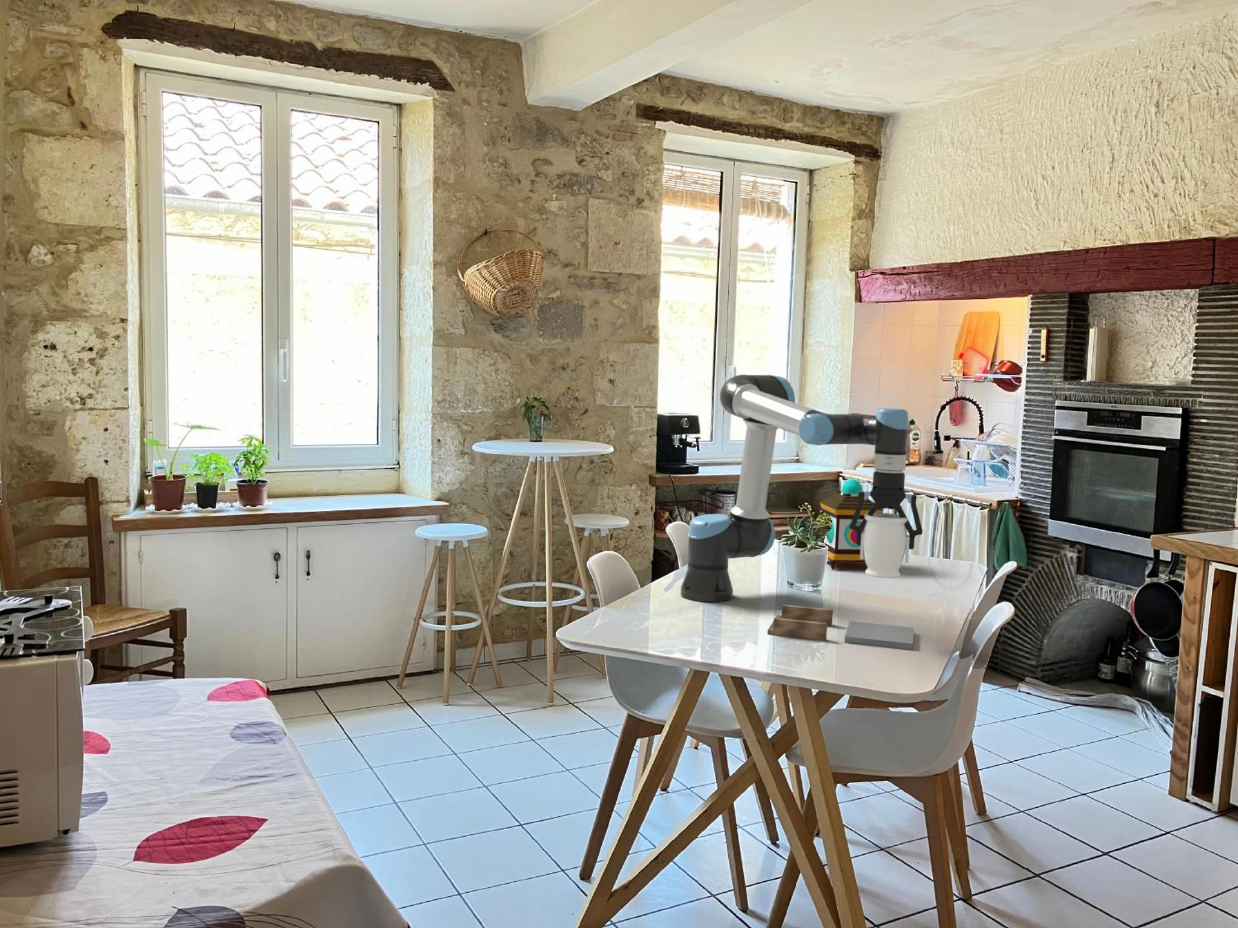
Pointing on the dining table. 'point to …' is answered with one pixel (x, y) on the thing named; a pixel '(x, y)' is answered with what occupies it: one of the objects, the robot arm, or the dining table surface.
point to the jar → (884, 544)
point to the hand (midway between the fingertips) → (884, 560)
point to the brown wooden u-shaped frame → (802, 622)
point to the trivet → (880, 635)
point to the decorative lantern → (845, 523)
